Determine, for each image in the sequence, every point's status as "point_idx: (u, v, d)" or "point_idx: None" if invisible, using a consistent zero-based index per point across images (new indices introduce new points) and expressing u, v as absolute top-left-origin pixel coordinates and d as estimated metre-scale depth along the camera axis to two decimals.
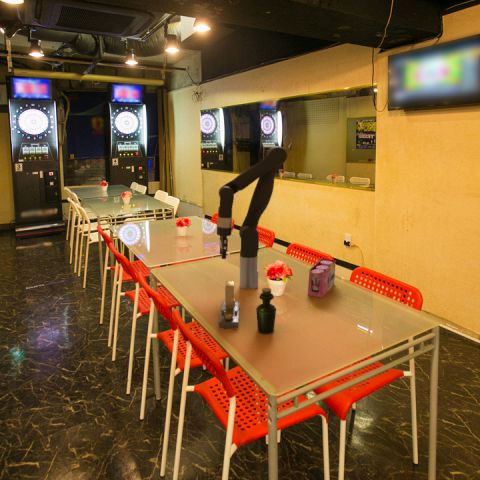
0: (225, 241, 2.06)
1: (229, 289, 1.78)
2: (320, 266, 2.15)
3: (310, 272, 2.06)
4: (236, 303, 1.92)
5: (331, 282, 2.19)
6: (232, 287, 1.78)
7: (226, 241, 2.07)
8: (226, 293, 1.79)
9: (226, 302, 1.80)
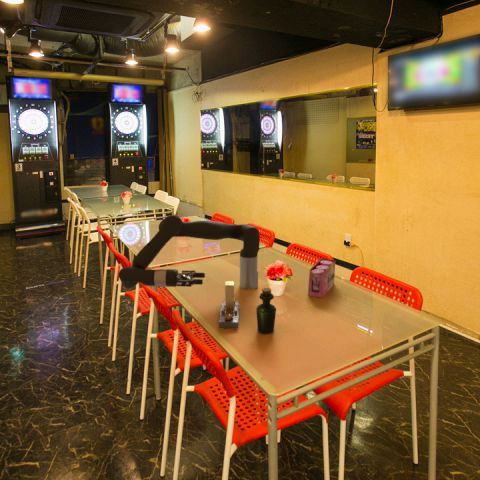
0: (178, 283, 1.74)
1: (229, 289, 1.78)
2: (320, 266, 2.15)
3: (310, 272, 2.06)
4: (236, 303, 1.92)
5: (331, 282, 2.20)
6: (232, 287, 1.78)
7: (178, 282, 1.73)
8: (226, 293, 1.79)
9: (226, 302, 1.80)
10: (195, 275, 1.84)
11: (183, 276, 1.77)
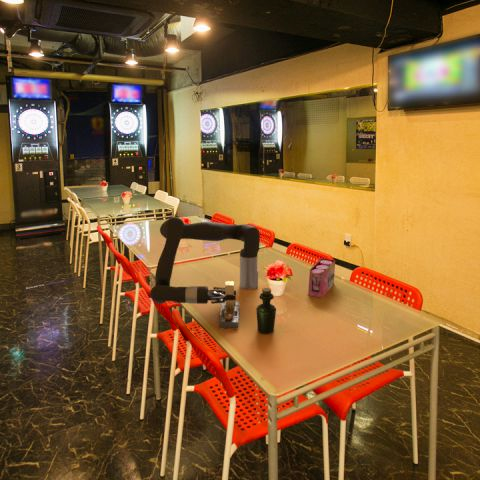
0: (213, 300, 1.75)
1: (229, 289, 1.78)
2: (320, 266, 2.15)
3: (310, 272, 2.07)
4: (236, 303, 1.92)
5: (331, 282, 2.20)
6: (232, 287, 1.78)
7: (213, 299, 1.75)
8: (226, 293, 1.79)
9: (226, 302, 1.80)
10: None
11: (215, 293, 1.79)
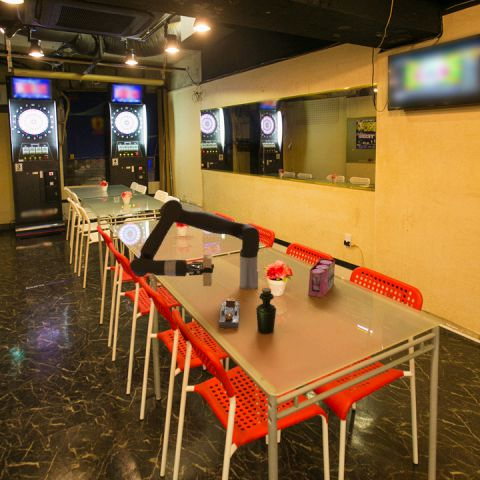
0: (190, 272, 1.81)
1: (206, 261, 1.84)
2: (320, 266, 2.16)
3: (311, 272, 2.07)
4: (236, 303, 1.92)
5: (331, 282, 2.20)
6: (209, 260, 1.84)
7: (190, 271, 1.81)
8: (204, 266, 1.85)
9: (204, 275, 1.86)
10: None
11: (193, 266, 1.85)
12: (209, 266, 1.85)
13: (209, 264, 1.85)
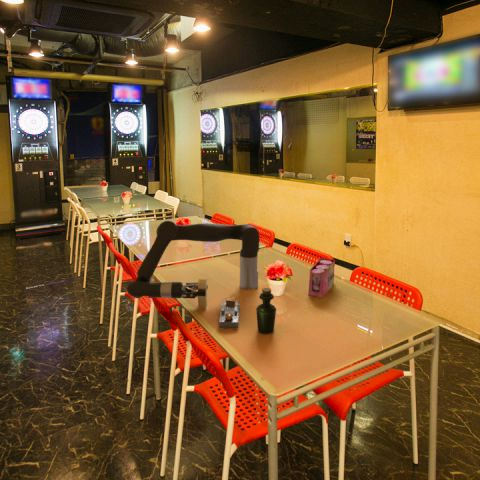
0: (183, 295, 1.86)
1: (201, 286, 1.90)
2: (320, 266, 2.16)
3: (311, 272, 2.07)
4: (236, 303, 1.92)
5: (331, 282, 2.20)
6: (204, 285, 1.90)
7: (183, 294, 1.86)
8: (199, 290, 1.90)
9: (199, 299, 1.91)
10: None
11: (187, 288, 1.90)
12: (204, 290, 1.90)
13: (204, 288, 1.90)
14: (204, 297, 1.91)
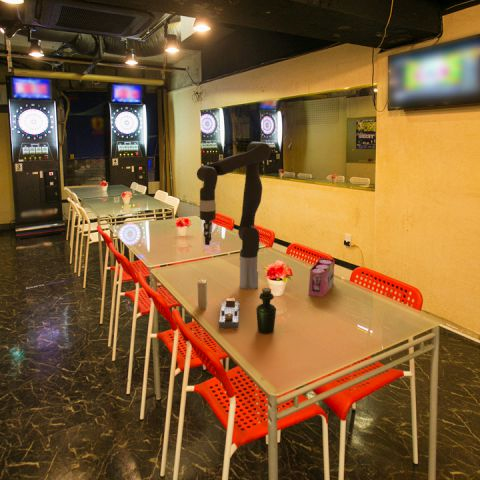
0: (206, 226, 1.91)
1: (201, 286, 1.90)
2: (320, 266, 2.16)
3: (311, 272, 2.07)
4: (236, 303, 1.92)
5: (331, 281, 2.20)
6: (204, 285, 1.90)
7: (207, 226, 1.91)
8: (199, 290, 1.90)
9: (199, 299, 1.91)
10: (208, 232, 2.03)
11: (210, 226, 1.96)
12: (204, 290, 1.90)
13: (204, 288, 1.90)
14: (204, 297, 1.91)
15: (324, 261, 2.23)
